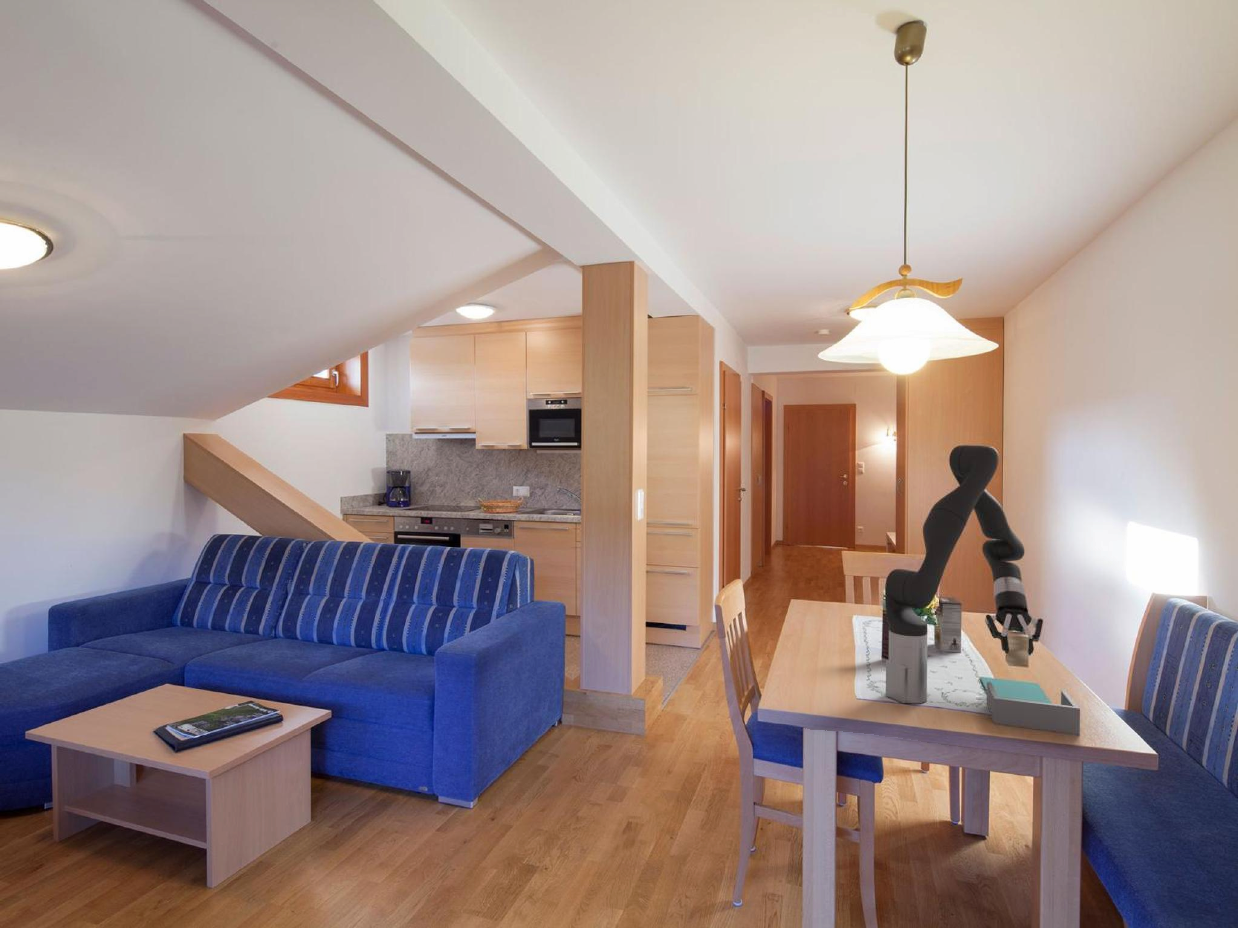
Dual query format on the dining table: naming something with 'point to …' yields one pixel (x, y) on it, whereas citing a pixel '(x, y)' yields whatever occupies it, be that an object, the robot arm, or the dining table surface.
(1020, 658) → the maple block
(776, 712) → the dining table surface
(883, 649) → the supplement box
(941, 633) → the coffee box
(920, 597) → the robot arm
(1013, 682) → the teal mat
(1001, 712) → the low gray barrier wall
